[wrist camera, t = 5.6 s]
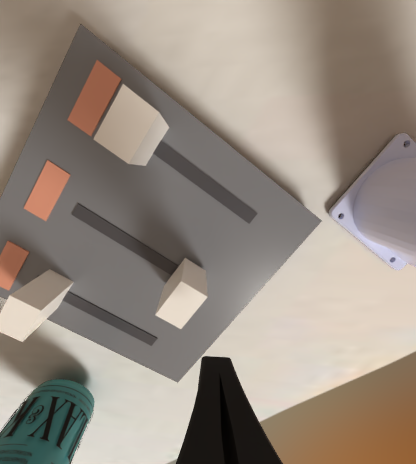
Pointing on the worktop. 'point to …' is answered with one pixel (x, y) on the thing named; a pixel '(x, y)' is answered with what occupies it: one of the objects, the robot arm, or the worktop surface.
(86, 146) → the switch panel
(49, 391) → the beverage bottle
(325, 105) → the worktop surface
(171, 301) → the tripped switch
